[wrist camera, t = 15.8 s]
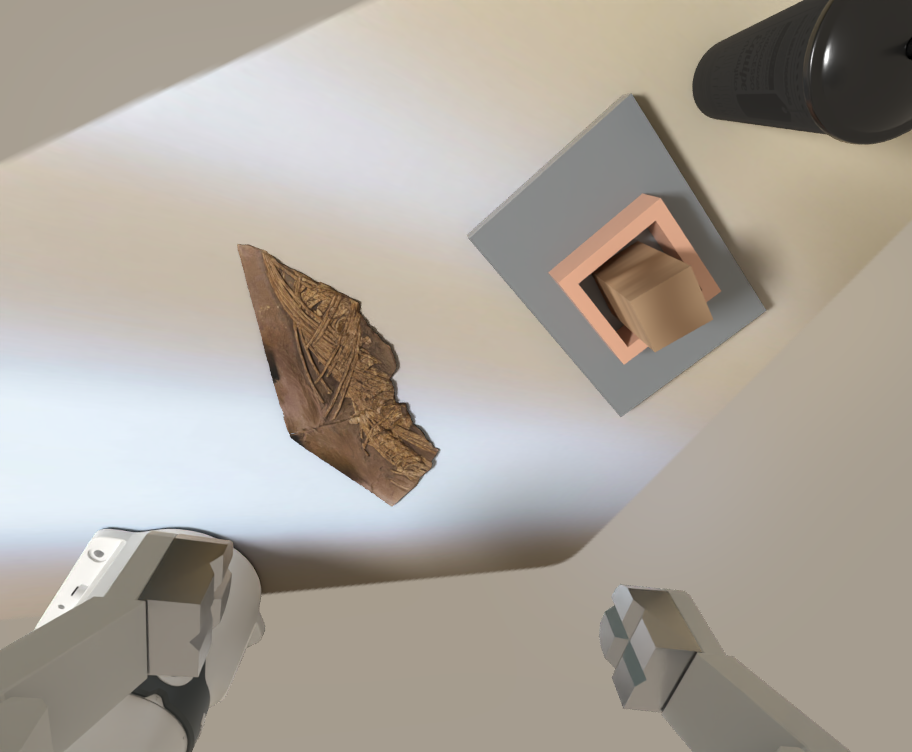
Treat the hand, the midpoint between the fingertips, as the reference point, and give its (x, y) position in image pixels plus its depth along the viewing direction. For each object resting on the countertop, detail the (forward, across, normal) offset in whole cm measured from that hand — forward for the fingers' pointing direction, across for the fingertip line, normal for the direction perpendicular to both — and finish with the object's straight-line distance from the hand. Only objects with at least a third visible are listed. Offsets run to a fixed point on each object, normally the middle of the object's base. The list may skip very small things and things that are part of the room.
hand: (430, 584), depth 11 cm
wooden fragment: (+32, +5, +11) cm, 34 cm away
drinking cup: (+31, -18, -16) cm, 40 cm away
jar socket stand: (+31, -15, -2) cm, 35 cm away
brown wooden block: (+30, -15, -2) cm, 33 cm away
